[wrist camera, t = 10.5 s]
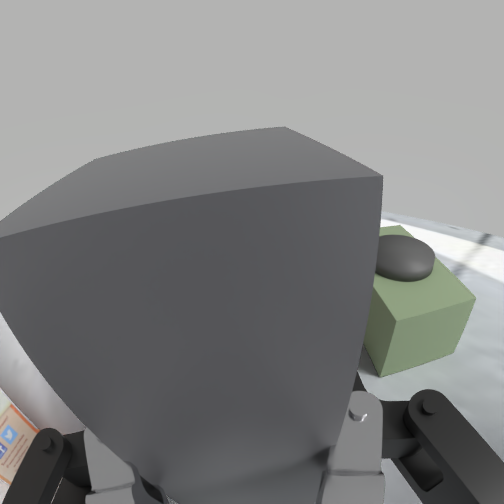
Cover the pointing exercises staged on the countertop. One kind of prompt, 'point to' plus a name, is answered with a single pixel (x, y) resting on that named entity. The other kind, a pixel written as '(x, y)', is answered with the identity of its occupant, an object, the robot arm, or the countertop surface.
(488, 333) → the countertop surface
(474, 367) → the countertop surface
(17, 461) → the cracker box
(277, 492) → the block
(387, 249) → the green block with knob
